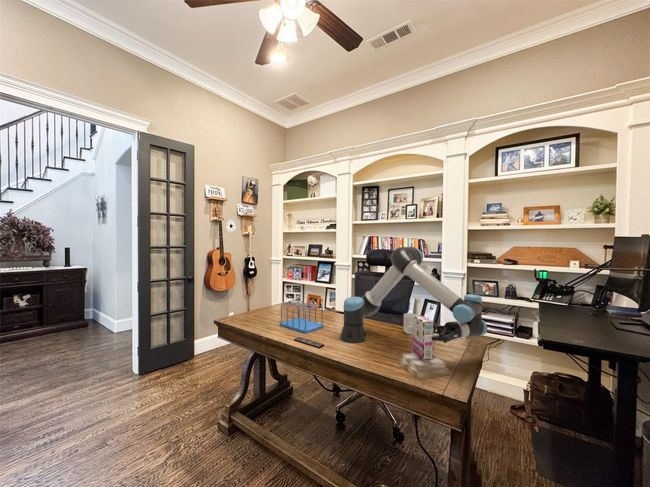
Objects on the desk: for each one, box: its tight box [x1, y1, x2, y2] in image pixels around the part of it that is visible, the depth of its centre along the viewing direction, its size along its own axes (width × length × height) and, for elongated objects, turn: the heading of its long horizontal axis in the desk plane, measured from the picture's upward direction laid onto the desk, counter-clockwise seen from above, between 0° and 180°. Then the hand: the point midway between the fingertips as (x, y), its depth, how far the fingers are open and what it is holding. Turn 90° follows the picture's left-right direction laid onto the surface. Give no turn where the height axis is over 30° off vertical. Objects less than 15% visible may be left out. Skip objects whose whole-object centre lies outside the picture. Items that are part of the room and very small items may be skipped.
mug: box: [403, 312, 418, 336], centre depth 172 cm, size 12×9×11 cm
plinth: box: [398, 351, 450, 380], centre depth 122 cm, size 15×15×5 cm
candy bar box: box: [412, 314, 435, 360], centre depth 122 cm, size 11×5×16 cm, turn 5°
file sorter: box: [279, 299, 325, 335], centre depth 183 cm, size 25×17×15 cm
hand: (415, 334), depth 121 cm, fingers closed on candy bar box, 11 cm apart
